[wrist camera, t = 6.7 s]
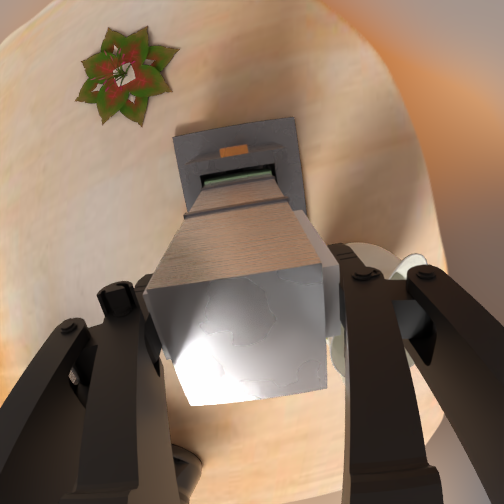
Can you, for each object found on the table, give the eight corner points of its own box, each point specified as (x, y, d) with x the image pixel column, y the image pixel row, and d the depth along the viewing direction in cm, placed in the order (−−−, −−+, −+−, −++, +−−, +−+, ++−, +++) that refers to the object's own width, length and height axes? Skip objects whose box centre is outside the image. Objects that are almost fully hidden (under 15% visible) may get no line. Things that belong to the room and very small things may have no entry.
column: (219, 232, 26) (188, 407, 10) (208, 176, 25) (141, 286, 8) (276, 223, 26) (330, 389, 10) (268, 166, 25) (325, 258, 8)
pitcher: (290, 340, 40) (307, 423, 28) (309, 201, 34) (349, 250, 21) (368, 339, 41) (405, 413, 28) (400, 210, 34) (469, 256, 22)
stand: (197, 246, 35) (183, 287, 26) (174, 137, 31) (148, 142, 22) (306, 228, 35) (328, 265, 26) (292, 117, 30) (312, 114, 21)
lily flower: (150, 145, 31) (137, 148, 27) (62, 110, 29) (41, 110, 25) (200, 43, 27) (194, 31, 23) (106, 14, 25) (89, 3, 21)
